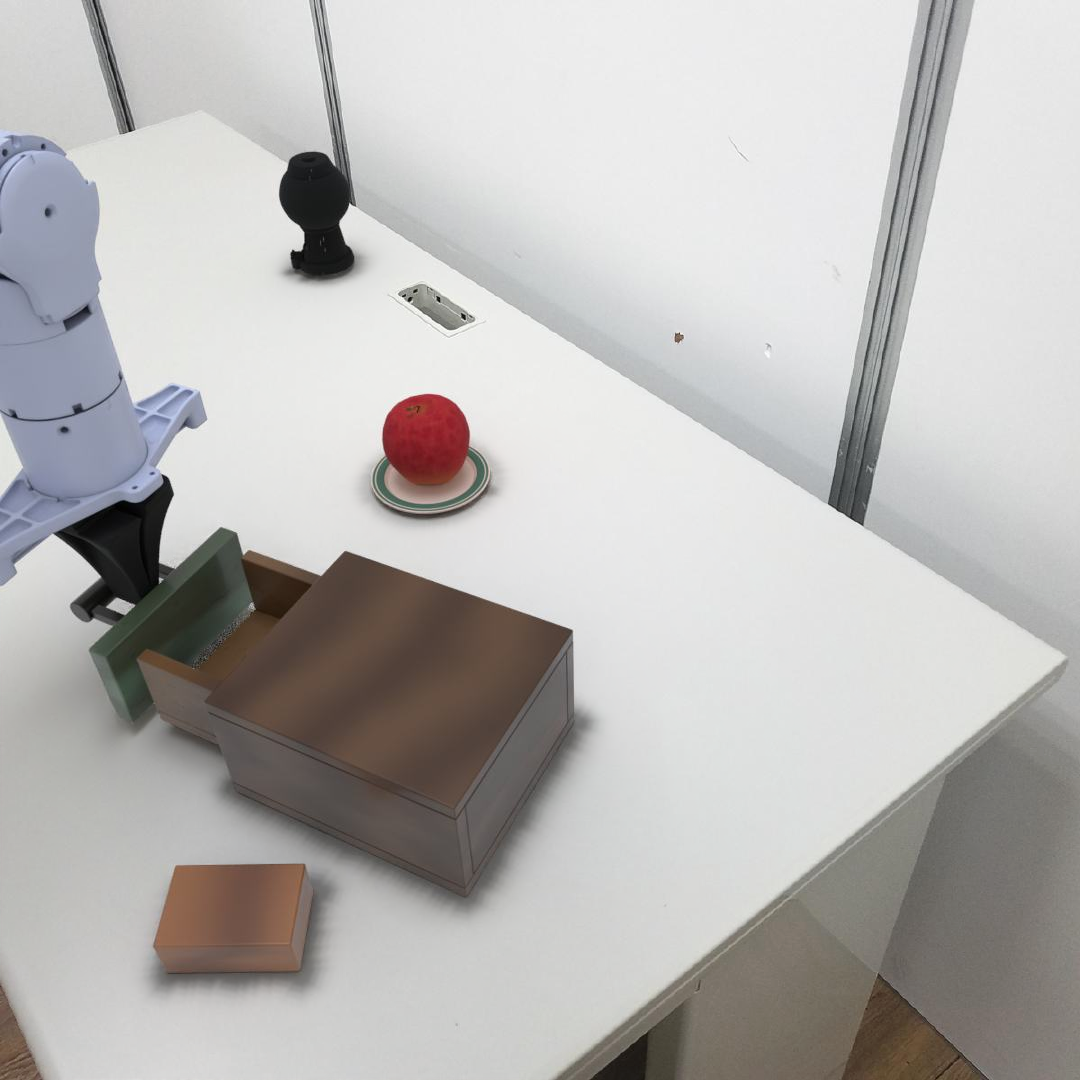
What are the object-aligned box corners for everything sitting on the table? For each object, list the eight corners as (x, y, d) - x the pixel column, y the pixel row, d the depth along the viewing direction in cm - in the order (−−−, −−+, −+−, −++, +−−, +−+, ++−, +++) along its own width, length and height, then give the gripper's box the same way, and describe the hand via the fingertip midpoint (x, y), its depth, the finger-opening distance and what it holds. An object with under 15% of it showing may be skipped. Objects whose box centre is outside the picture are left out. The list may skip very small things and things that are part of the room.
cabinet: (235, 791, 57) (202, 700, 52) (362, 640, 64) (344, 549, 59) (466, 898, 52) (454, 809, 47) (574, 721, 59) (573, 629, 55)
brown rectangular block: (166, 973, 49) (151, 946, 48) (187, 892, 52) (175, 864, 51) (300, 972, 49) (290, 944, 48) (314, 890, 52) (305, 862, 51)
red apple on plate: (364, 520, 72) (350, 439, 68) (379, 445, 78) (366, 367, 74) (487, 518, 72) (481, 436, 68) (492, 443, 78) (487, 364, 74)
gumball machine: (289, 253, 100) (267, 144, 93) (354, 243, 101) (338, 135, 94) (297, 289, 95) (275, 176, 88) (365, 278, 96) (349, 166, 90)
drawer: (55, 688, 61) (22, 621, 57) (181, 570, 68) (159, 504, 64) (307, 803, 55) (288, 735, 51) (418, 661, 62) (408, 592, 58)
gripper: (0, 498, 46) (97, 712, 55) (227, 330, 55) (277, 535, 64) (-116, 454, 48) (-6, 665, 57) (120, 301, 58) (182, 502, 67)
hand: (137, 594), depth 61 cm, fingers closed
